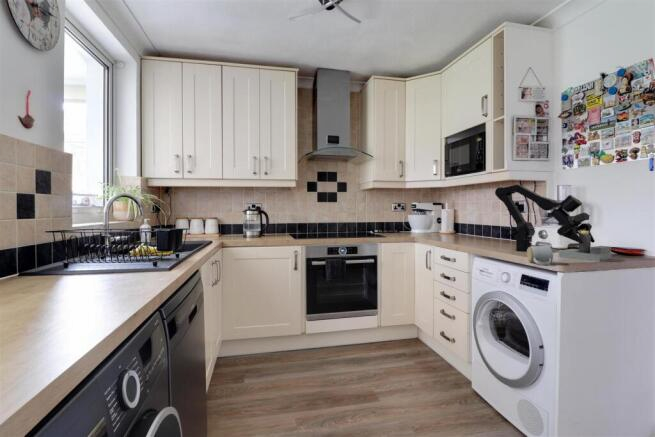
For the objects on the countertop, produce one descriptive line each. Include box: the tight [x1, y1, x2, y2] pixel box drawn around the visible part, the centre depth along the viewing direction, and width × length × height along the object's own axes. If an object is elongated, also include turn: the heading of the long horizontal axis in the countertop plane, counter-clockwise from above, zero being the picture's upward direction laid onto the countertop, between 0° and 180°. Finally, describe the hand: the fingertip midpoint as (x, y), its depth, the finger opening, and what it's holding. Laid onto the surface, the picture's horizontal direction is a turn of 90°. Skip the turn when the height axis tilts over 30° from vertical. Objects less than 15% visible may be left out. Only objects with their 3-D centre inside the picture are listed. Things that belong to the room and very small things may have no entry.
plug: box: [578, 231, 592, 253], centre depth 149 cm, size 5×5×13 cm
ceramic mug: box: [526, 245, 554, 266], centre depth 134 cm, size 11×8×8 cm
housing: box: [558, 245, 612, 262], centre depth 149 cm, size 16×12×6 cm
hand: (588, 242), depth 148 cm, fingers open, 9 cm apart
